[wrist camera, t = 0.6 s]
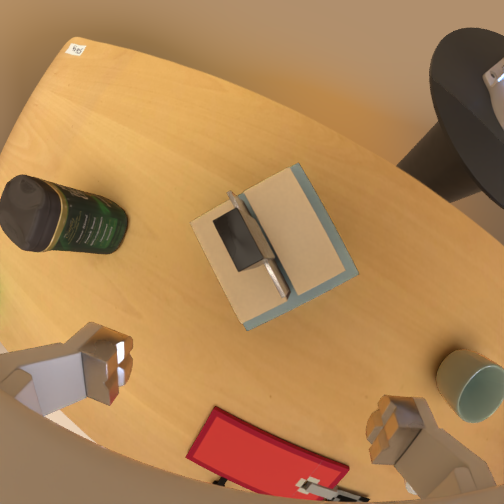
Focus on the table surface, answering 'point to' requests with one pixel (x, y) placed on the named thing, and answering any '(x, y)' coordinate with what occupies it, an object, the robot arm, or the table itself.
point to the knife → (248, 242)
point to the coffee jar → (59, 218)
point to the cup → (471, 384)
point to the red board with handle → (266, 462)
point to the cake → (279, 248)
